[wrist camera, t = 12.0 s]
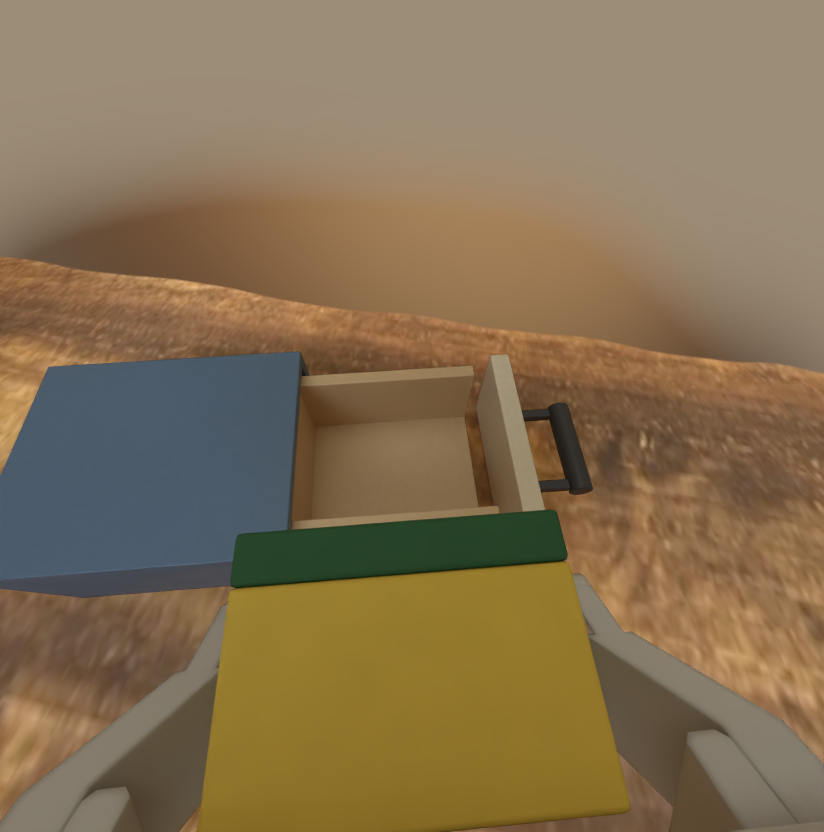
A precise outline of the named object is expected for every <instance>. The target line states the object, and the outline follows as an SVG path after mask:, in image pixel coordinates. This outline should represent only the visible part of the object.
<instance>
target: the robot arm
mask: <svg viewBox="0 0 824 832" xmlns="http://www.w3.org/2000/svg"><path fill="white" fill-rule="evenodd" d="M572 575H573V579H574V583H575V586H576V590H577V594H578V598H579V602H580V606H581V610H582V614H583V618H584V622H585V626H586V630H587V634H588V638H589V642H590V646H591V650H592V654H593V658H594V662H595V666H596V670H597V673H598V677H599V681H600V685H601V689H602V693H603V697H604V701H605V705H606V709H607V713H608V717H609V721H610V725H611V729H612V733H613V737H614V741H615V745H616V749H617V752H618V753H619V754H620V755H621V756H622V757H623V758H624V759H625V760H626V761H627V762H628V763H629V764H630V765H631V766H632V767H633V768H634V769H635V770H636V771H637V772H639V773H640V774H641V775H642V776H643V777H644V778H645V779H646V780H647V781H648V782H649V783H650V784H651V785H652V786H653V787H654V788H655V789H656V790H657V791H658V792H659V793H660V794H661V795H662V796H663V797H664V798H665V799H666V800H667V801H668V802H669V803H670V804H671V805H672V806H673V807H674V808H673V813H672V818H671V824H670V829H669V832H824V764H823V763H822V762H821V761H820V760H819V759H818V757H817V756H816V755H815V754H814V753H813V752H812V751H811V750H810V749H809V748H808V747H807V746H806V745H805V744H804V742H803V741H802V740H801V739H800V738H799V737H798V736H797V735H796V734H795V733H794V732H793V731H792V730H791V729H790V727H789V726H788V725H787V724H786V723H785V722H784V721H783V720H781V719H779V718H778V717H776V716H774V715H773V714H771V713H769V712H768V711H766V710H764V709H762V708H761V707H759V706H757V705H756V704H754V703H752V702H751V701H749V700H747V699H745V698H744V697H742V696H740V695H739V694H737V693H735V692H734V691H732V690H730V689H728V688H727V687H725V686H723V685H722V684H720V683H718V682H716V681H715V680H713V679H711V678H710V677H708V676H706V675H705V674H703V673H701V672H699V671H698V670H696V669H694V668H693V667H691V666H689V665H688V664H686V663H684V662H682V661H681V660H679V659H677V658H676V657H674V656H672V655H671V654H669V653H667V652H665V651H664V650H662V649H660V648H659V647H657V646H655V645H654V644H652V643H650V642H648V641H647V640H645V639H643V638H642V637H640V636H638V635H636V634H635V633H633V632H624V631H623V630H622V628H621V627H620V626H619V624H618V623H617V621H616V620H615V619H614V617H613V616H612V614H611V613H610V612H609V610H608V609H607V607H606V606H605V605H604V603H603V602H602V600H601V599H600V598H599V596H598V595H597V593H596V592H595V591H594V589H593V588H592V586H591V585H590V584H589V582H588V581H587V579H586V578H585V577H584V576H583V575H581V574H580V573H579V574H572ZM226 610H227V603H226V604H225V605H223V606H222V607H221V608H220V610H219V612H218V613H217V615H216V617H215V619H214V621H213V622H212V624H211V626H210V628H209V630H208V631H207V633H206V635H205V637H204V639H203V640H202V642H201V644H200V646H199V647H198V649H197V651H196V653H195V655H194V656H193V658H192V660H191V662H190V664H189V665H188V667H187V669H186V671H182V672H177V673H175V674H174V675H173V676H171V677H170V678H169V679H168V680H166V681H165V682H164V683H163V684H161V685H160V686H159V687H157V688H156V689H155V690H154V691H152V692H151V693H150V694H148V695H147V696H146V697H145V698H143V699H142V700H141V701H139V702H138V703H137V704H136V705H134V706H133V707H132V708H131V709H129V710H128V711H127V712H125V713H124V714H123V715H122V716H120V717H119V718H118V719H116V720H115V721H114V722H113V723H111V724H110V725H109V726H108V727H106V728H105V729H104V730H102V731H101V732H100V733H99V734H97V735H96V736H95V737H93V738H92V739H91V740H90V741H88V742H87V743H86V744H85V745H83V746H82V747H81V748H79V749H78V750H77V751H76V752H74V753H73V754H72V755H70V756H69V757H68V758H67V759H65V760H64V761H63V762H62V763H60V764H59V765H58V766H56V767H55V768H54V769H53V770H51V771H50V772H49V773H47V774H46V775H45V776H44V777H42V778H41V779H40V780H38V781H37V782H36V783H35V784H33V785H32V786H31V787H30V788H28V789H27V790H26V791H24V792H23V793H22V794H21V795H20V797H19V798H18V799H17V801H16V802H15V803H14V805H13V806H12V807H11V809H10V810H9V811H8V813H7V814H6V815H5V817H4V818H3V819H2V821H1V822H0V832H179V831H180V830H181V828H182V827H183V826H184V825H185V823H186V822H187V821H188V819H189V818H190V817H191V816H192V814H193V813H194V812H195V810H196V809H197V808H198V807H199V805H200V804H201V799H202V792H203V784H204V777H205V769H206V762H207V754H208V746H209V739H210V731H211V724H212V716H213V709H214V701H215V693H216V686H217V678H218V671H219V663H220V656H221V648H222V641H223V633H224V625H225V618H226Z"/></svg>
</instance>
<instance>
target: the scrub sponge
mask: <svg viewBox="0 0 824 832" xmlns="http://www.w3.org/2000/svg"><path fill="white" fill-rule="evenodd" d="M566 559H567V550H566V546H565V542H564V538H563V534H562V530H561V526H560V522H559V518H558V515H557V513H556V511H555V510H551V509H550V510H537V511H524V512H511V513H499V514H486V515H473V516H460V517H447V518H435V519H422V520H409V521H396V522H383V523H371V524H358V525H345V526H332V527H319V528H307V529H294V530H281V531H268V532H255V533H243V534H240V535H238V536H237V537H236V541H235V548H234V556H233V563H232V571H231V578H230V584H231V586H232V587H234V588H236V589H234V590H232V591H230V593H229V595H228V603H227V610H226V618H225V625H224V633H223V641H222V648H221V656H220V663H219V671H218V678H217V686H216V693H215V701H214V709H213V716H212V724H211V731H210V739H209V746H208V754H207V762H206V769H205V777H204V784H203V792H202V799H201V807H200V814H199V822H198V830H197V832H450V831H460V830H469V829H479V828H488V827H498V826H508V825H517V824H527V823H537V822H546V821H556V820H566V819H575V818H585V817H595V816H604V815H614V814H624V813H626V812H628V811H629V810H630V800H629V796H628V792H627V788H626V784H625V780H624V776H623V772H622V768H621V764H620V760H619V757H618V753H617V749H616V745H615V741H614V737H613V733H612V729H611V725H610V721H609V717H608V713H607V709H606V705H605V701H604V697H603V693H602V689H601V685H600V681H599V677H598V673H597V670H596V666H595V662H594V658H593V654H592V650H591V646H590V642H589V638H588V634H587V630H586V626H585V622H584V618H583V614H582V610H581V606H580V602H579V598H578V594H577V590H576V586H575V583H574V579H573V575H572V571H571V567H570V566H569V564H568V563H566V562H563V561H564V560H566Z"/></svg>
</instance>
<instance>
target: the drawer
mask: <svg viewBox="0 0 824 832" xmlns="http://www.w3.org/2000/svg"><path fill="white" fill-rule="evenodd" d="M473 379H474V370H473V366H457V367H441V368H426V369H410V370H394V371H378V372H363V373H347V374H331V375H315V376H302V378H301V392H300V407H299V421H298V436H297V450H296V465H295V479H294V494H293V508H292V523H291V530H294V529H307V528H319V527H332V526H345V525H358V524H371V523H383V522H396V521H409V520H422V519H435V518H447V517H460V516H473V515H486V514H499V513H511V512H524V511H537V510H545V507H544V503H543V499H542V495H541V493H542V492H555V491H567V490H569V493H570V494H572V495H580V494H585V493H588V492H590V491H592V490H593V487H592V483H591V480H590V477H589V474H588V470H587V467H586V464H585V460H584V457H583V454H582V451H581V447H580V444H579V441H578V437H577V434H576V431H575V428H574V424H573V421H572V418H571V414H570V411H569V408H568V405H567V404H566V403H556V404H553V405H551V406H549V407H548V408H547V409H539V410H524V411H521V406H520V402H519V398H518V394H517V390H516V385H515V381H514V377H513V373H512V369H511V364H510V360H509V356H508V354H505V355H491V356H490V358H489V362H488V366H487V369H486V373H485V376H484V380H483V384H482V387H481V391H480V394H479V398H478V402H477V405H476V410H477V415H478V421H479V427H480V432H481V438H482V444H483V449H484V455H485V461H486V466H487V472H488V478H489V483H490V489H491V495H492V500H493V506H486V507H479V505H478V498H477V492H476V486H475V479H474V473H473V467H472V460H471V454H470V448H469V441H468V435H467V429H466V422H465V413H466V408H467V404H468V400H469V396H470V391H471V387H472V383H473ZM548 419H549V421H550V424H551V428H552V432H553V435H554V439H555V443H556V446H557V450H558V454H559V457H560V461H561V465H562V468H563V472H564V476H565V479H560V480H546V481H538V478H537V474H536V469H535V465H534V461H533V457H532V453H531V448H530V444H529V440H528V436H527V432H526V427H525V423H524V422H525V421H540V420H548Z"/></svg>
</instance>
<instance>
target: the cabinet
mask: <svg viewBox="0 0 824 832" xmlns="http://www.w3.org/2000/svg"><path fill="white" fill-rule="evenodd" d="M302 376H310V375H309V372H308V370H307V367H306V365H305V362H304V360H303V357H302V355H301V352H283V353H267V354H250V355H234V356H218V357H201V358H185V359H169V360H152V361H136V362H120V363H103V364H87V365H71V366H54V367H48V369H47V372H46V374H45V376H44V378H43V381H42V383H41V385H40V387H39V390H38V392H37V394H36V396H35V399H34V401H33V403H32V406H31V408H30V410H29V412H28V415H27V417H26V419H25V421H24V424H23V426H22V428H21V430H20V433H19V435H18V437H17V440H16V442H15V444H14V446H13V449H12V451H11V453H10V455H9V458H8V460H7V462H6V464H5V467H4V469H3V471H2V474H1V476H0V589H9V590H18V591H27V592H36V593H45V594H55V595H64V596H73V597H82V598H85V597H97V596H110V595H122V594H135V593H147V592H159V591H172V590H184V589H196V588H209V587H221V586H231V584H230V578H231V571H232V563H233V556H234V548H235V541H236V537H237V536H238V535H240V534H243V533H255V532H268V531H281V530H291V523H292V508H293V494H294V479H295V465H296V450H297V436H298V421H299V407H300V392H301V378H302Z"/></svg>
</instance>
